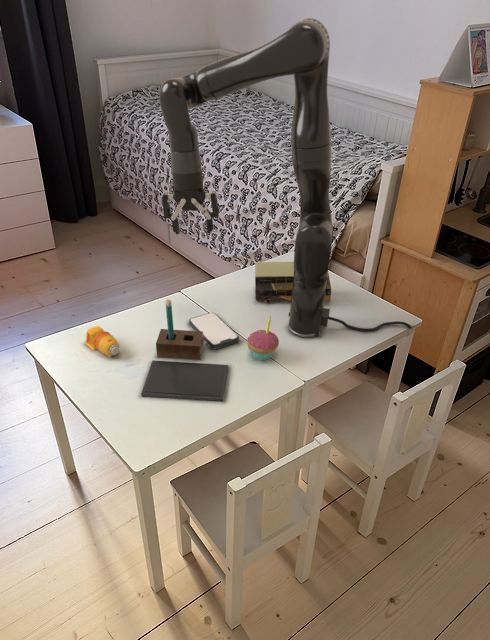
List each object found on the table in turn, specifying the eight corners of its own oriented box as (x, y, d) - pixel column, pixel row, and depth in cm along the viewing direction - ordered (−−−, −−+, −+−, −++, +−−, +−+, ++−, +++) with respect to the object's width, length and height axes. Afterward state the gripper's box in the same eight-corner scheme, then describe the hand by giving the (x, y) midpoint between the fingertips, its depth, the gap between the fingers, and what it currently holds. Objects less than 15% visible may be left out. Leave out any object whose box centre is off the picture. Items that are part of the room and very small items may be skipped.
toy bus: (330, 305, 167) (332, 276, 161) (255, 305, 168) (255, 276, 161) (327, 288, 175) (329, 260, 169) (255, 289, 175) (255, 261, 169)
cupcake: (264, 342, 151) (266, 306, 144) (284, 357, 146) (287, 320, 139) (240, 353, 147) (241, 316, 139) (260, 369, 142) (261, 331, 134)
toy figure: (125, 355, 145) (101, 336, 151) (123, 338, 141) (98, 319, 148) (108, 363, 142) (84, 343, 148) (105, 347, 138) (80, 326, 145)
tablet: (228, 367, 142) (227, 364, 142) (222, 401, 132) (222, 398, 131) (152, 362, 143) (152, 359, 142) (141, 396, 132) (141, 393, 132)
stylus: (175, 349, 148) (171, 299, 138) (174, 352, 147) (170, 302, 137) (170, 348, 148) (166, 299, 138) (169, 351, 147) (164, 302, 137)
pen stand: (203, 344, 150) (203, 331, 147) (200, 359, 144) (199, 346, 141) (162, 342, 150) (160, 328, 147) (157, 357, 145) (155, 343, 142)
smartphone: (187, 323, 158) (212, 351, 147) (186, 319, 157) (212, 346, 146) (214, 315, 162) (240, 342, 151) (213, 311, 161) (240, 337, 150)
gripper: (216, 165, 138) (221, 228, 146) (162, 166, 139) (170, 229, 147) (212, 171, 131) (218, 237, 140) (155, 173, 132) (164, 238, 141)
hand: (193, 233), depth 144 cm, fingers open, 8 cm apart
